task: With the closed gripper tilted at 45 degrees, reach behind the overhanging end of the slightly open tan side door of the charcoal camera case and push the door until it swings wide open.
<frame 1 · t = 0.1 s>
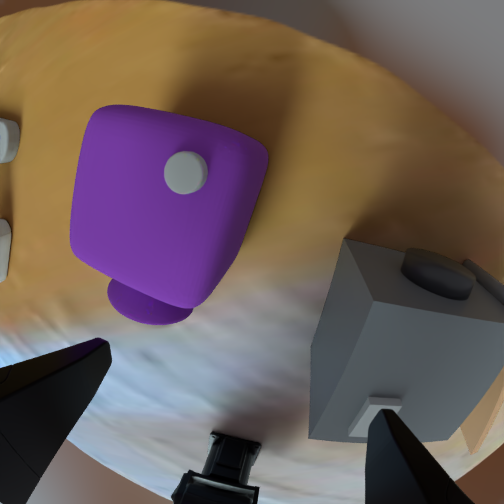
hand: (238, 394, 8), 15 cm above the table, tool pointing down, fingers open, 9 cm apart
camera case: (388, 309, 21), on the table
side door: (481, 366, 16), point 5 cm above the table, hinge at 25.0°
photo printer: (5, 249, 28), on the table
toy camera: (195, 207, 22), on the table
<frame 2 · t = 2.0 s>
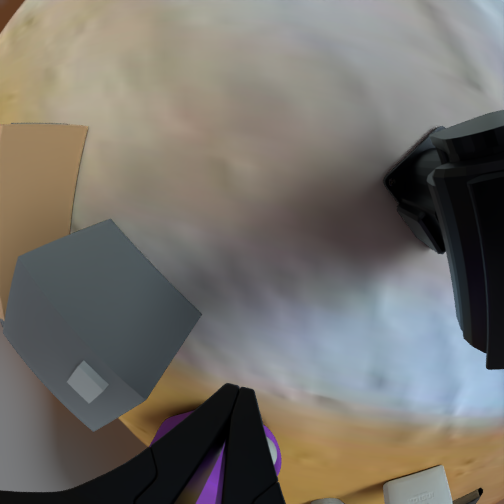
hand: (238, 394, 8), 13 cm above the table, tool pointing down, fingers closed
camera case: (125, 300, 24), on the table
side door: (32, 226, 18), point 5 cm above the table, hinge at 25.0°
photo printer: (413, 475, 27), on the table
toy camera: (225, 426, 27), on the table
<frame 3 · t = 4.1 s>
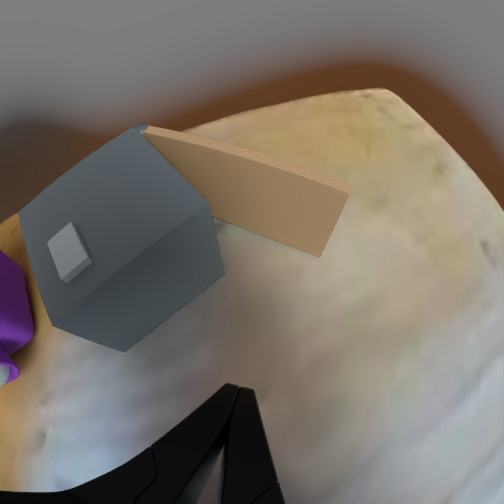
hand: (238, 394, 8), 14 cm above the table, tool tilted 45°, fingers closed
camera case: (143, 270, 24), on the table
side door: (233, 188, 22), point 5 cm above the table, hinge at 25.0°
toy camera: (12, 330, 21), on the table
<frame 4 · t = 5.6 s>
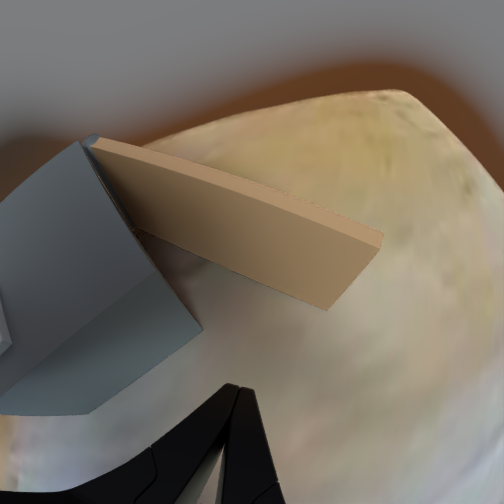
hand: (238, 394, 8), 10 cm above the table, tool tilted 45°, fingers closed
camera case: (105, 319, 18), on the table
side door: (211, 222, 16), point 5 cm above the table, hinge at 25.0°
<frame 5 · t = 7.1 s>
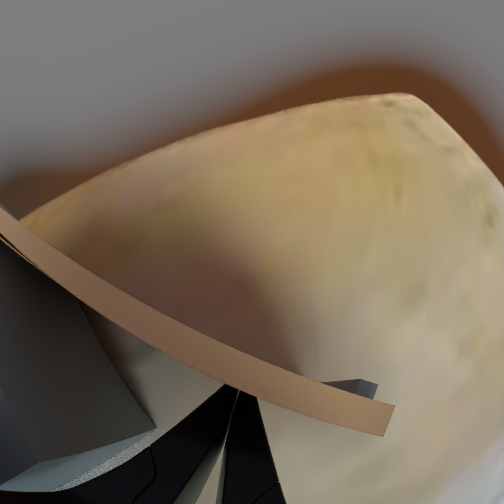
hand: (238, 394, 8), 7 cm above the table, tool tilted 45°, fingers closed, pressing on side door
camera case: (54, 400, 13), on the table
side door: (144, 320, 11), point 5 cm above the table, hinge at 25.2°, touching gripper
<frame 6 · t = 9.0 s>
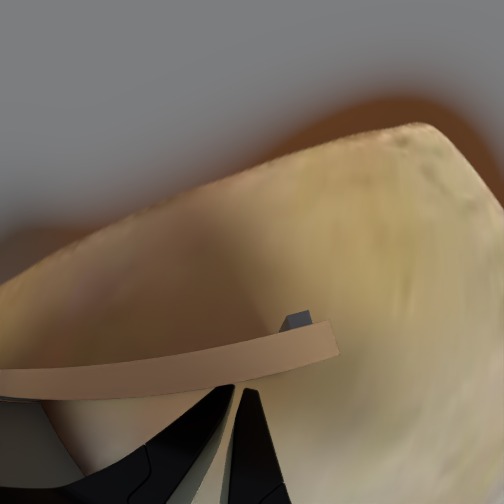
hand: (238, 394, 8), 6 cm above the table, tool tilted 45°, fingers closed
camera case: (40, 491, 9), on the table
side door: (90, 385, 9), point 5 cm above the table, hinge at 62.5°, touching gripper
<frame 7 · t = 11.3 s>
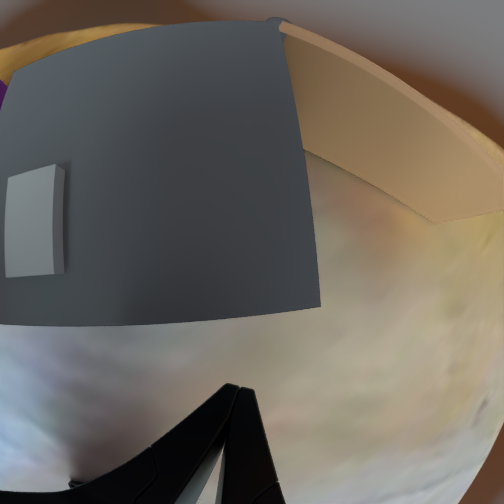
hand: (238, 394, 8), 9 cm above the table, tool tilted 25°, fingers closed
camera case: (165, 210, 17), on the table
side door: (388, 143, 14), point 5 cm above the table, hinge at 62.6°
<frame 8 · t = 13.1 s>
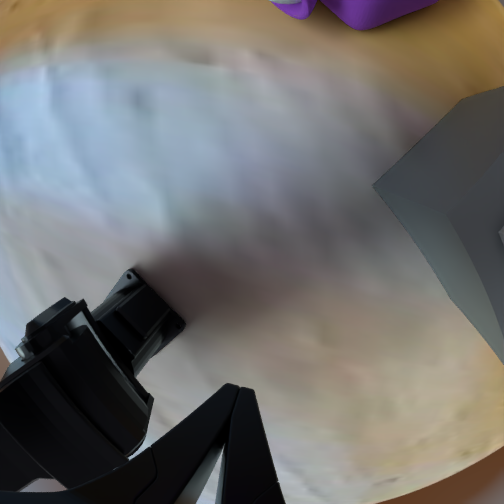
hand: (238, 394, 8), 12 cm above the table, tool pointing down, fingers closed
camera case: (465, 202, 15), on the table
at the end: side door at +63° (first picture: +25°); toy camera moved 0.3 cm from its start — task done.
